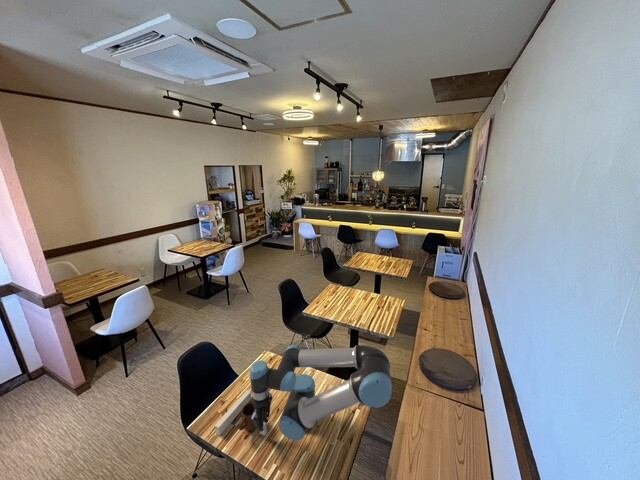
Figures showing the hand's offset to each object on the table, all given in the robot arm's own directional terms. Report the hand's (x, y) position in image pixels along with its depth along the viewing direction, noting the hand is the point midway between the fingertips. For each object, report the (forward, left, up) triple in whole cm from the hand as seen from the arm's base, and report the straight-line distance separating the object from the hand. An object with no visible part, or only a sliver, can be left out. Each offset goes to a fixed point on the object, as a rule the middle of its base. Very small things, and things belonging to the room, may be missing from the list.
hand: (263, 433), depth 120 cm
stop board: (+20, -2, -2) cm, 20 cm away
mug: (+9, 0, -3) cm, 10 cm away
